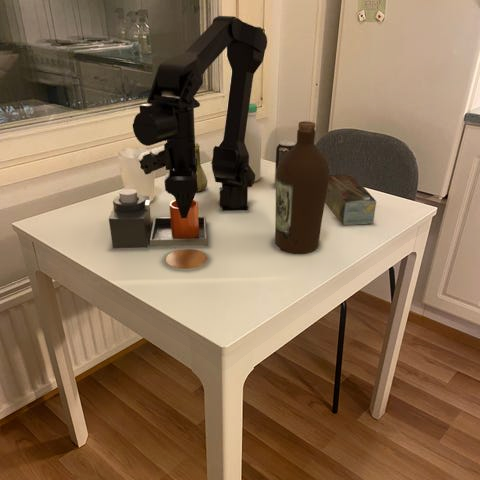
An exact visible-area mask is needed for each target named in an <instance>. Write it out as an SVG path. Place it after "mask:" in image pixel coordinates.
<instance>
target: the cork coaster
mask: <svg viewBox="0 0 480 480" xmlns="http://www.w3.org/2000/svg"><path fill="white" fill-rule="evenodd" d="M208 259H209V258H208V255H207V253H205V252H203V251H201V250H199V249H194V248H193V249H192V248H183V249H177V250H175V251H172V252H170V253H168V255H166V257H165V262H166V264H167V265H168V266H170V267H172V268H175V269H180V270H181V269H182V270H191V269H192V270H193V269H196V268H199V267H202V266H203V265H205V264H206V263H207V261H208Z"/></svg>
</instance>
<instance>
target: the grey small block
mask: <svg viewBox="0 0 480 480" xmlns="http://www.w3.org/2000/svg"><path fill="white" fill-rule="evenodd" d="M145 209H147V211H148V212H149V211H150V212H151V202H150V200H146V203H145Z"/></svg>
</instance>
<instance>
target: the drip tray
mask: <svg viewBox="0 0 480 480" xmlns="http://www.w3.org/2000/svg"><path fill="white" fill-rule="evenodd" d="M152 219H153V220H152V224H151V229H150V234H149V247H150V248H153V247H155V248H157V247H202V246H204V247H206V246H208V235H207V234H208V233H207V232H208V231H207V216H198V220H199V235H198V236H197V237H195V238H179V239H177V238H174V237H173V236H172V232H171V218H170V216H169V217H167V216H165V217H163V216H162V217H153V218H152Z"/></svg>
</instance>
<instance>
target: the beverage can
mask: <svg viewBox="0 0 480 480" xmlns="http://www.w3.org/2000/svg"><path fill="white" fill-rule="evenodd" d="M296 143H297V141H294V140H288V139H287V140H286V139H284V140H280V141H279V142H278V145H277V146H276V149H275V153H276V154H275V167H274V169H275V170H274V185H275V186H276V170H277V167H278V164H279V162H280V160H281V159H282V157H283V156H284V155H285V154H286V153H287V152H288V151H289V150H290V149H291V148H292V147H293V146H294V145H295V144H296Z"/></svg>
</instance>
